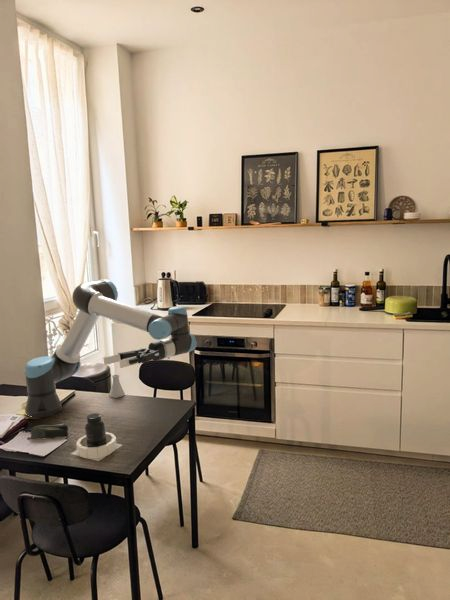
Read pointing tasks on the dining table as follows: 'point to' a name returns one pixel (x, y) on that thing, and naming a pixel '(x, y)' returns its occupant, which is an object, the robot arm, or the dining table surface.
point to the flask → (116, 388)
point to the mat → (100, 457)
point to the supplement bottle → (95, 431)
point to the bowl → (96, 451)
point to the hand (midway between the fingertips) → (111, 362)
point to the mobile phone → (48, 431)
